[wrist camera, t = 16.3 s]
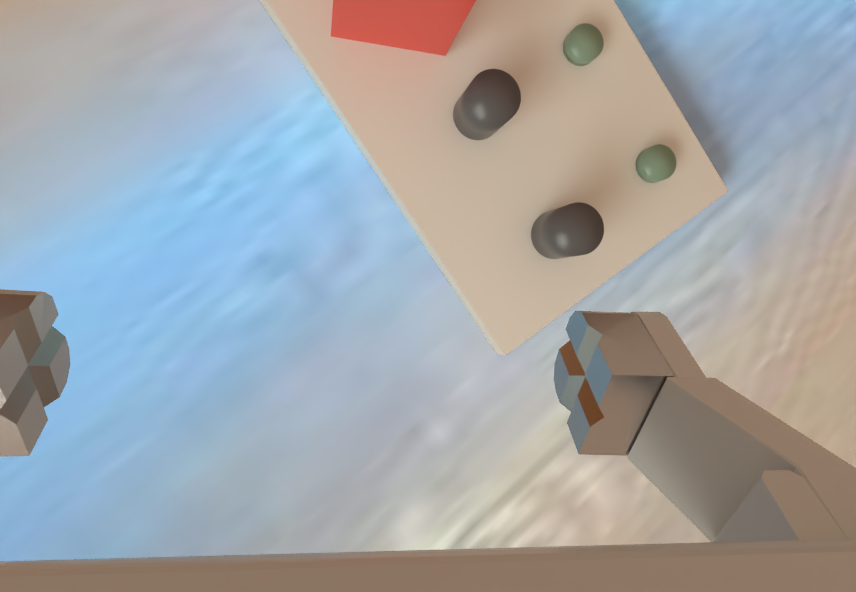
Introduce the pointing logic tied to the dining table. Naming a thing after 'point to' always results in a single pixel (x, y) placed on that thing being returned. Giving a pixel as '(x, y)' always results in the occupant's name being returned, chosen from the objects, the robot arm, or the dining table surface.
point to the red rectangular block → (401, 22)
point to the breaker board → (516, 148)
